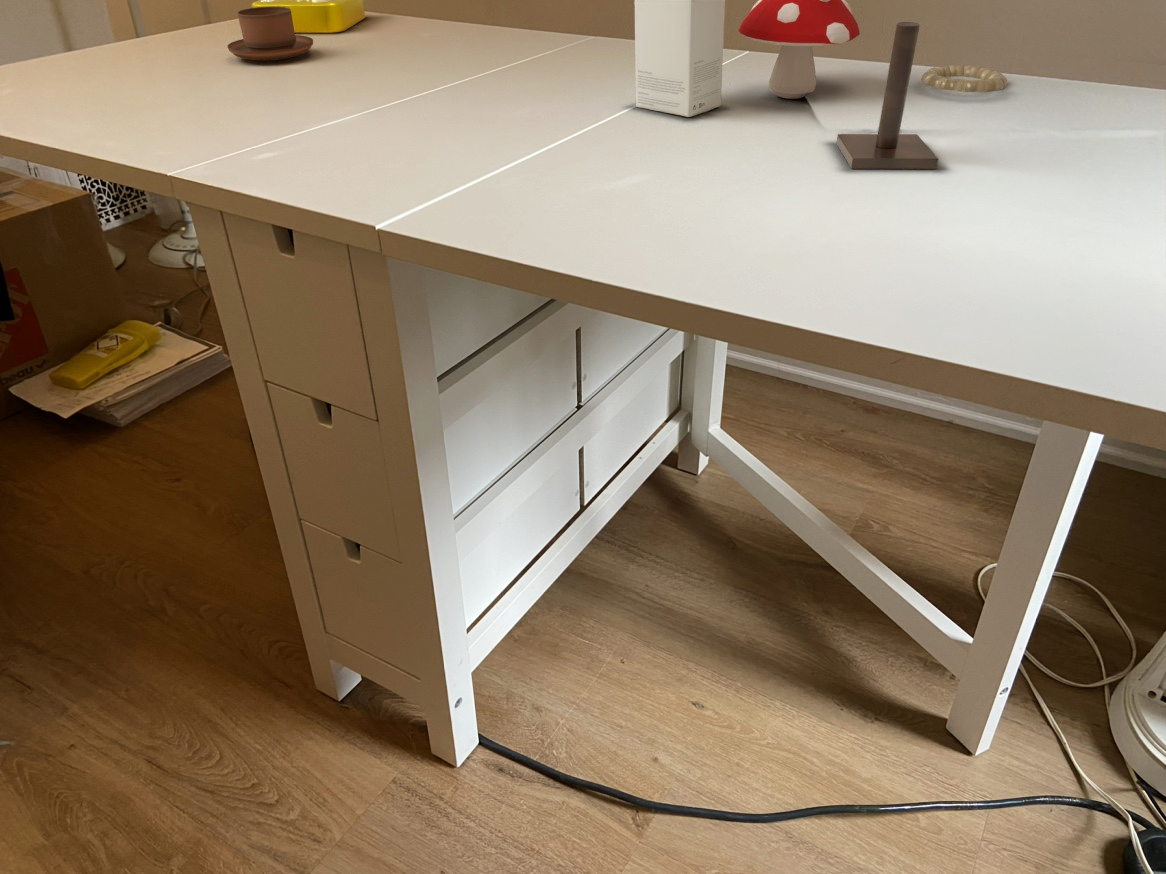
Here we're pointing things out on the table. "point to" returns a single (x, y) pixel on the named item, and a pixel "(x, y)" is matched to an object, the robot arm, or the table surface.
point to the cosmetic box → (679, 55)
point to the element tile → (320, 14)
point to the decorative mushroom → (798, 37)
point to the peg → (891, 118)
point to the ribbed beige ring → (988, 81)
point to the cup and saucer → (268, 35)
